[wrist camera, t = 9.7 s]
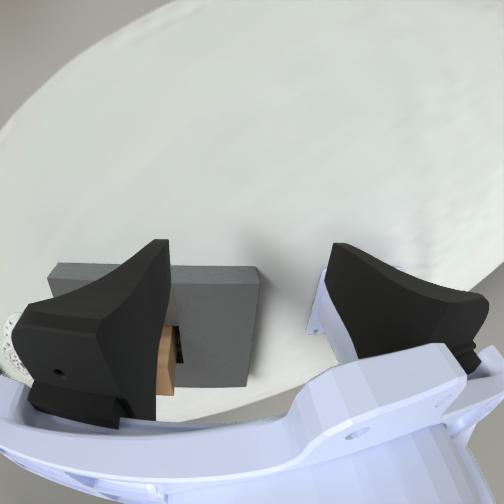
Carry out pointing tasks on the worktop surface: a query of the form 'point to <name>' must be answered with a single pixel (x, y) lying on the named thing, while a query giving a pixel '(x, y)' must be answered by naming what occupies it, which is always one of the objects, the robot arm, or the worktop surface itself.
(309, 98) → the worktop surface
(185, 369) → the hole plate
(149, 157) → the worktop surface
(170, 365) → the walnut peg
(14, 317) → the mechanical component
